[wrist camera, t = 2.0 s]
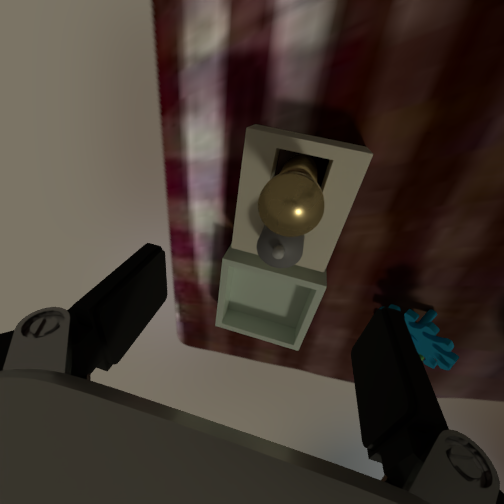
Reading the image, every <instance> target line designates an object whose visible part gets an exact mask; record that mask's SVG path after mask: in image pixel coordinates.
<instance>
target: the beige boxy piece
mask: <svg viewBox="0 0 504 504" xmlns="http://www.w3.org/2000/svg"><path fill="white" fill-rule="evenodd" d="M280 149H284V150H288V151H293V152H298V153H302V154H307V155H312V156H316V157H321V158H326V159H330V160H329V163H328V166H327V169H326V172H325V175H324V178H323V181H322V185H321V190H322V192H323V195H324V213H323V216H322V219H321V220H320V222H319V224H318V225H317V226H316V227H315V228H314V229H313V230H311V231H310V232H308V233H306V234H304V235H301V236H296V237H286V236H282V235H279V234H276V233H275V232H273V231H271V230H270V229H269V228H268V227H267V226H266V225H265V224H264V223H263V221H262V220H261V217H260V215H259V211H258V199H259V196H260V193H261V191H262V189H263V188H264V186H265V185H266V183H267V182H268V181H269V180H270V179H272V178H273V177H274V176H275V171H276V166H277V161H278V157H279V152H280ZM372 156H373V153H372V152H371V151H370V150H369V149H368V148H367V147H365V146H360V145H355V144H351V143H346V142H341V141H336V140H331V139H326V138H321V137H316V136H312V135H307V134H302V133H297V132H292V131H287V130H282V129H277V128H272V127H268V126H263V125H258V124H254V125H252V126H249V127H247V128H246V134H245V142H244V150H243V158H242V166H241V174H240V182H239V190H238V198H237V206H236V214H235V222H234V230H233V237H232V245H231V248H234V249H237V250H241V251H245V252H249V253H253V254H256V255H259V257H260V258H261V259H262V260H263V261H264V262H265V263H266V264H268V265H269V266H272V267H275V268H288V267H291V266H293V265H298V266H301V267H305V268H309V269H313V270H317V271H320V272H324V271H325V269H326V266H327V264H328V262H329V259H330V257H331V254H332V252H333V250H334V247H335V245H336V242H337V240H338V238H339V235H340V233H341V230H342V228H343V226H344V223H345V221H346V218H347V216H348V214H349V211H350V209H351V206H352V204H353V202H354V199H355V197H356V194H357V192H358V190H359V187H360V185H361V182H362V180H363V178H364V175H365V173H366V170H367V168H368V166H369V163H370V161H371V158H372Z"/></svg>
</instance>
